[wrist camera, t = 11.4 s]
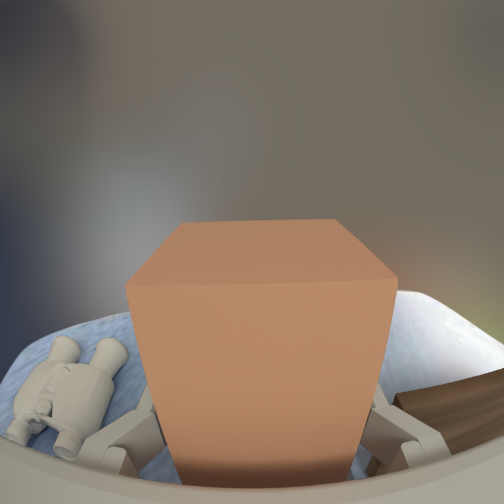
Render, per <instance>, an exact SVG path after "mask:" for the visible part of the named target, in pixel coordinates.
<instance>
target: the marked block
mask: <svg viewBox="0 0 504 504" xmlns="http://www.w3.org/2000/svg"><path fill="white" fill-rule="evenodd" d="M397 285H398V277H397V276H395V274H394V273H393V272H392V271H391V270H389V269H388V268H387V267H386V266H385V265H384V264H383V263H382V262H381V261H380V260H379V259H378V258H377V257H376V256H375V255H374V254H372V252H371V251H370V250H368V249H367V248H366V247H365V246H364V245H363V244H362V243H361V242H360V241H359V240H358V239H356V238H355V237H354V236H353V235H352V234H351V233H350V232H349V231H348V230H347V229H346V228H344V227H343V226H342V225H341V224H340V223H339V222H338V221H337V220H335V219H326V220H325V219H320V220H319V219H316V220H259V221H222V222H197V223H196V222H193V223H181V224H180V225H179V226H178V228H177V229H176V230H175V231H174V232H173V233H172V234H171V235H170V236H169V237H168V238H167V239H166V240H165V241H164V242H163V243H162V245H161V246H160V247H159V248H158V249H157V250H156V251H155V252H154V253H153V254H152V256H151V257H150V258H149V259H148V260H147V261H146V262H145V263H144V264H143V265H142V266H141V268H140V269H139V270H138V271H137V272H136V273H135V274H134V275H133V277H132V278H131V279H130V280H129V281H128V282H127V283H126V285H125V287H126V293H127V298H128V303H129V308H130V313H131V318H132V322H133V327H134V331H135V336H136V340H137V344H138V348H139V352H140V356H141V360H142V364H143V368H144V371H145V375H146V379H147V382H148V386H149V389H150V393H151V396H152V400H153V403H154V406H155V409H156V413H157V416H158V419H159V422H160V425H161V428H162V431H163V434H164V437H165V440H166V442H167V445H168V448H169V451H170V454H171V456H172V459H173V462H174V464H175V467H176V469H177V472H178V475H179V477H180V480H181V482H182V485H190V486H201V487H216V488H285V487H300V486H312V485H321V484H330V483H337V482H344V481H346V478H347V476H348V473H349V470H350V468H351V465H352V462H353V460H354V457H355V454H356V451H357V448H358V446H359V443H360V440H361V437H362V434H363V431H364V428H365V424H366V421H367V418H368V415H369V411H370V408H371V404H372V401H373V397H374V394H375V390H376V386H377V383H378V379H379V375H380V371H381V367H382V363H383V358H384V354H385V350H386V345H387V340H388V336H389V331H390V326H391V320H392V315H393V309H394V304H395V298H396V292H397Z"/></svg>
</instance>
